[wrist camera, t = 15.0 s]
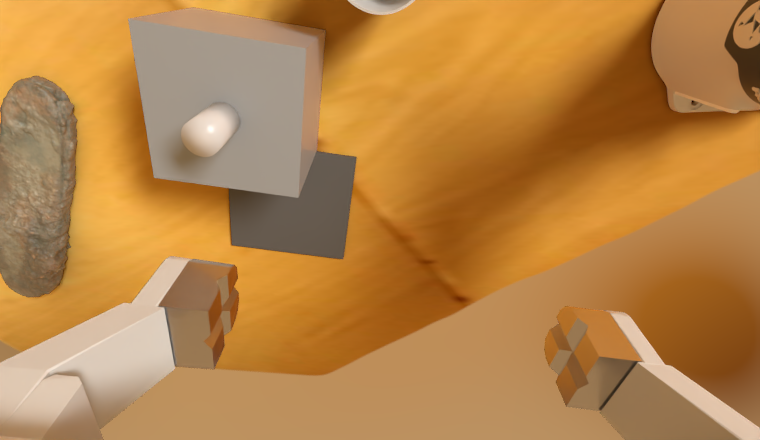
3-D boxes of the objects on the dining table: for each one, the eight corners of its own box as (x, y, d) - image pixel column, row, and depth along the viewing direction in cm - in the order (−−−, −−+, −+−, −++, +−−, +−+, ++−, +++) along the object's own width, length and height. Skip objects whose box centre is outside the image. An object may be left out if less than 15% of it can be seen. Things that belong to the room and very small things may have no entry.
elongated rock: (106, 97, 48) (19, 56, 46) (75, 106, 43) (-24, 61, 41) (71, 299, 63) (4, 274, 61) (45, 322, 58) (-28, 296, 56)
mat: (356, 157, 50) (356, 158, 49) (343, 257, 58) (343, 259, 58) (227, 138, 49) (226, 139, 48) (232, 243, 57) (232, 245, 57)
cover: (325, 29, 42) (293, 59, 27) (316, 150, 49) (287, 225, 35) (193, 7, 41) (86, 26, 27) (203, 133, 48) (124, 203, 34)
